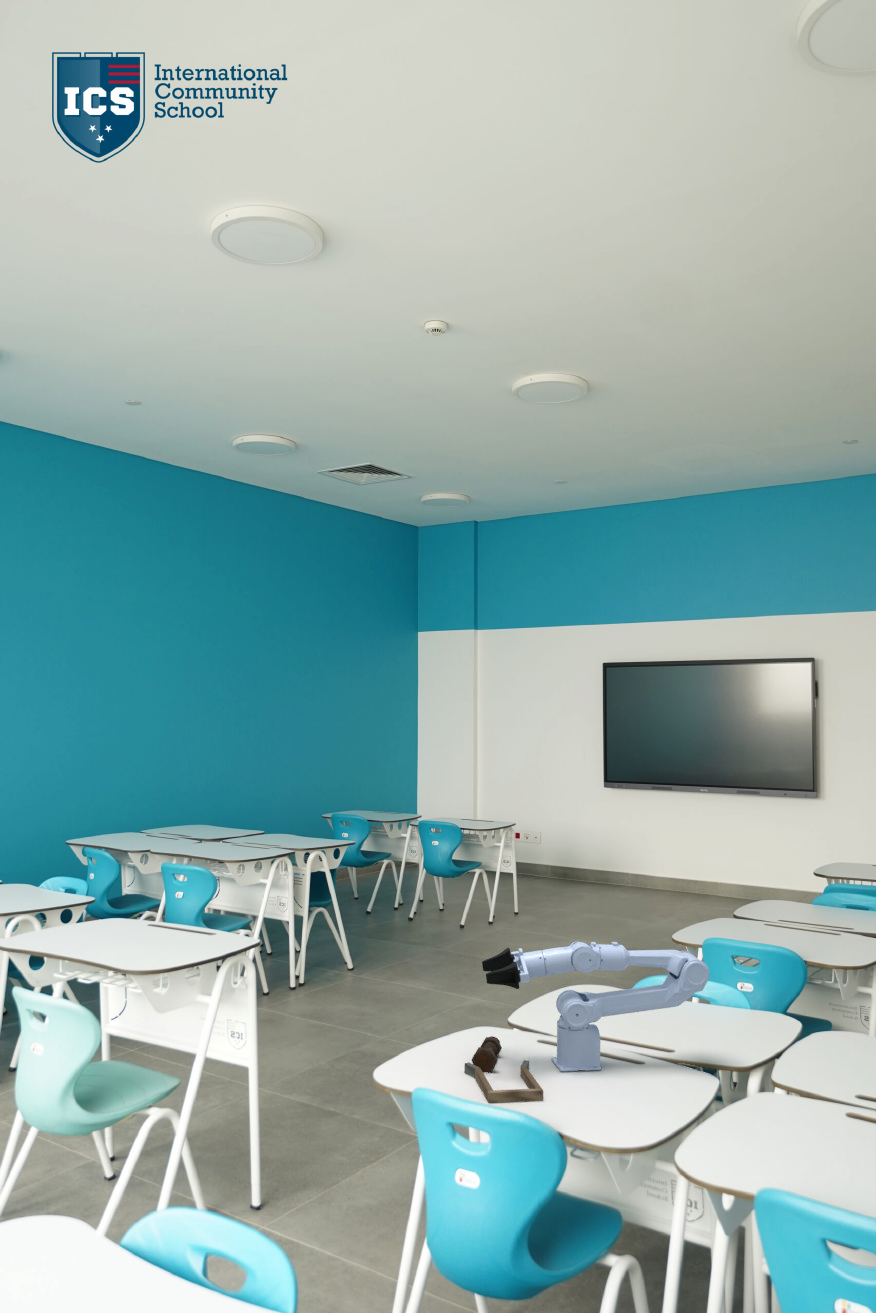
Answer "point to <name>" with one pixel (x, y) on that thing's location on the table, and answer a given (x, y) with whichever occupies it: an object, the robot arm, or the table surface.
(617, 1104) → the table surface
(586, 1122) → the table surface
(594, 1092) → the table surface
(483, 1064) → the bolt
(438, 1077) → the table surface
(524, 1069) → the frame
